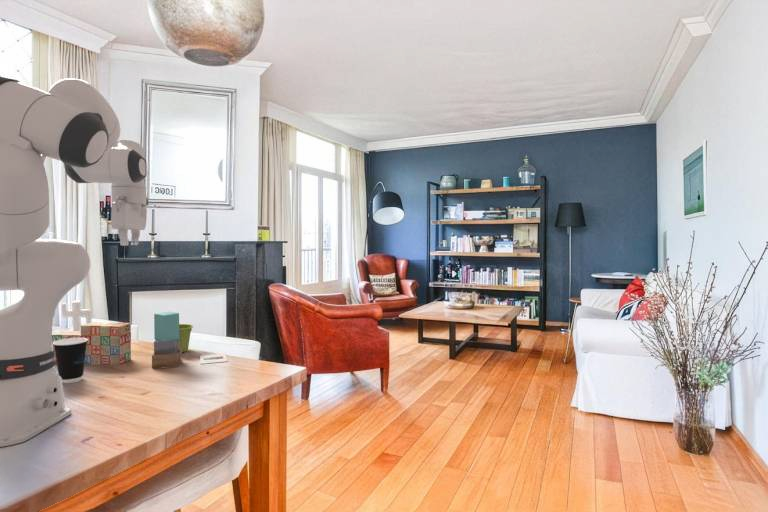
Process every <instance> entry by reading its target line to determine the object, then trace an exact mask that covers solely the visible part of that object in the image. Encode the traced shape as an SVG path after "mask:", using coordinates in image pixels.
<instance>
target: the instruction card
mask: <svg viewBox="0 0 768 512" xmlns="http://www.w3.org/2000/svg"><path fill="white" fill-rule="evenodd" d="M227 362H228V358H227V356H226V353H217V354H206V355H199V363H200V365H205V364H208V363H209V364H217V363H227Z"/></svg>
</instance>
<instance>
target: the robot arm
mask: <svg viewBox="0 0 768 512" xmlns="http://www.w3.org/2000/svg"><path fill="white" fill-rule="evenodd" d="M120 136H121V126H120V121H119V119H118V116H117V114H116V113H115V111H114V109H113V107H112V106H111V104H110V103H109V102H108V100H107V99H106V98H105V96H103V95H102V93H101V92H100V91H98V90H97V89H96V88H95V86H92V84H90V83H89V82H87V81H85V80H82V79H78V78H63V79H60V80H58V81H57V82H55V83H54V84H53V85H52V86H50V89H49V90H48V92H46V91H44V90H41V89H39V88H37V87H33V86H30V85H27V84H25V83H22V82H21V81H20V80H17V79H15V78H11V77H8V76H4V75H0V292H1V291H2V292H3V291H22V292H23V293H24V295H23V297H22V299H21V300H18V301H17V302H16V303H14V304H11V305H8V306H7V307H4V308H3V309H0V448H2V447H8V446H12V445H17V444H20V443H24V442H27V441H28V440H30V439H31V438H34V437H35V436H36V435H39V434H40V433H42V432H43V431H44V430H45V431H46V429H48V428H50V427H51V426H53V425H55V424H56V423H58V422H60V421H61V420H63V419H65V418H66V417H68V416H70V415H71V414H72V408H70V407H68V406H66V405H65V395H64V387H63V383H62V378H61V377H60V376H59V374H58V373H57V372H56V369H55V368H54V366H55V365H56V364H55V355H54V350H53V349H52V347H53V344H52V335H53V324H54V317H55V313H56V310H57V309H58V306H59V304H60V302H61V301H62V300H63V298H64V297H65V296H66V295H67V293H68V292H70V291H71V290H73V288H74V287H76V286H77V285H80V283H82V282H83V281H84V280H85V279H86V278H87V276H88V274H89V271H90V269H91V258H90V256H89V253H88V251H87V250H86V248H85V247H84V246H83V245H82V244H80V243H79V242H76V241H69V240H63V239H57V238H41V237H42V236H43V235H44V234H45V233H46V231H47V230H48V229H49V226H50V189H49V181H48V177H47V171H46V168H45V164H44V163H45V160H46V157H47V158H51V159H53V160H57V161H61V162H62V163H63V167H64V171H65V173H66V175H67V176H68V177H69V178H70V179H71V180H72V181H74V182H75V183H77V184H91V183H93V184H94V183H95V184H99V183H100V184H111V187H110V188H111V190H110V193H111V212H110V226H111V228H112V229H113V230H117V235H118V238H119V244H120V246H122V247H125V246H129V245H131V246H138V245H139V241H140V235H141V231H144V230H146V226H147V217H148V216H147V214H148V213H147V212H148V211H147V207H149V205H150V204H149V203H150V202H149V199H148V198H147V186H146V184H145V183H146V182H145V178H146V177H147V174H148V173H147V160H146V159H145V158H146V157H145V152H144V147H143V146H142V144H140V143H139V142H136V141H133V140H128V139H127V140H126V139H120ZM119 139H120V140H119ZM129 230H130V235H131V238H130V239H128V234H129ZM129 241H130V242H129Z"/></svg>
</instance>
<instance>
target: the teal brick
mask: <svg viewBox="0 0 768 512" xmlns="http://www.w3.org/2000/svg"><path fill="white" fill-rule="evenodd" d="M153 315H154V316H153V317H154V321H153V323H154V324H153V326H154V329H153V330H154V334H153V335H154V341H155V340H158V341H163V342H165V341H170V340H175V339H179V324H180V313H179V312H173V311H165V312H158V313H157V312H156V313H154V314H153Z"/></svg>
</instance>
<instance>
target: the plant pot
mask: <svg viewBox="0 0 768 512" xmlns="http://www.w3.org/2000/svg"><path fill="white" fill-rule="evenodd" d="M193 328H194V325H192V324H188V323H179V340H180V349H182V353H183V352H184V353H185V352H188V351H189V344H190V339H191V332H192V329H193Z"/></svg>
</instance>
